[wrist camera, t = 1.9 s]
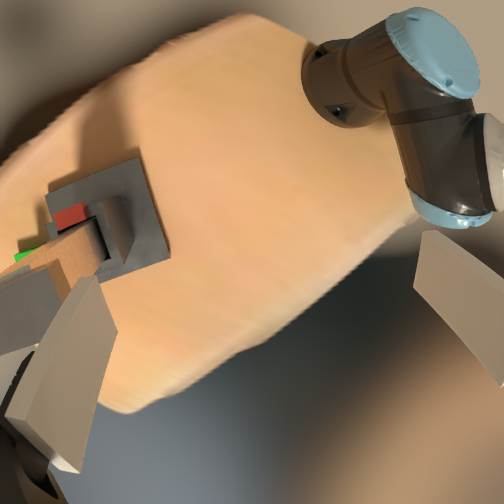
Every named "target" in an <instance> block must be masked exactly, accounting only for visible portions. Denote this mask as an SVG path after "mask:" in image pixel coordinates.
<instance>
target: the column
mask: <svg viewBox="0 0 504 504" xmlns="http://www.w3.org/2000/svg"><path fill="white" fill-rule="evenodd" d="M108 253H109V251H108V248H107V246H106V243H105V240H104V238H103V235H102V232H101V229H100V227H99V224H98V221H97V218H96V215H95V216H93V217H90V218H88V219H86V220H84V221H83V222H81V223H79V224H77V225H75V226H74V227H72V228H70V229H69V230H67V231H65V232H64V233H62V234H60V235H58V236H57V237H55V238H53V239H52V240H50V241H49V242H47V243H45V244H43V245H42V246H41V247H39V248H37V249H36V250H34V251H33V252H31V253H30V254H28V255H26V256H25V257H23V258H22V259H20V260H19V261H17V262H16V263H14V264H13V265H11V266H10V267H9V268H7V269H6V270H4V271H3V272H1V273H0V355H3V354H6V353H9V352H12V351H15V350H19V349H21V348H25V347H27V346H31V345H34V344H37V343H40V342H41V340H42V338H43V336H44V334H45V333H46V331H47V329H48V327H49V326H50V324H51V322H52V321H53V319H54V317H55V315H56V314H57V312H58V310H59V309H60V307H61V306H62V304H63V302H64V301H65V299H66V298H67V296H68V294H69V293H70V291H71V290H72V288H73V287H74V285H75V284H76V282H77V281H78V279H79V277H86V276H93V275H94V273H95V272H96V270H97V269H98V267H99V266H100V264H101V263H102V261H103V260H104V259H105V257H106V256H107V254H108Z"/></svg>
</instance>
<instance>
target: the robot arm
mask: <svg viewBox="0 0 504 504" xmlns="http://www.w3.org/2000/svg"><path fill="white" fill-rule="evenodd" d="M479 75H480V71H479V67H478V64H477V61H476V58H475V56H474V54H473V52H472V50H471V48H470V46H469V44H468V43H467V41H466V40H465V38H464V37H463V36H462V35H461V33H460V32H459V31H458V30H457V29H456V27H455V26H454V25H452V24H451V23H450V22H449V21H448V20H447V19H446V18H444V17H443V16H441V15H440V14H438V13H436V12H434V11H432V10H430V9H426V8H420V7H415V8H410V9H408V10H405V11H403V12H400V13H395V14H393V15H390V16H389V17H387V19H385V20H383V21H381V22H379V23H378V24H376V25H374V26H372V27H370V28H369V29H367V30H365V31H364V32H362V33H360V34H358V35H357V36H355V37H353V38H351V39H340V40H331V41H327V42H324V43H322V44H320V45H319V46H318V47H316V48H315V49H313V50H312V51H311V52H310V53H309V54H308V55H307V57H306V58H305V60H304V63H303V66H302V84H303V88H304V91H305V94H306V96H307V98H308V100H309V102H310V104H311V105H312V107H313V108H314V109H315V110H316V111H317V113H318V114H319V115H320V116H322V117H323V118H324V119H325V120H327V121H328V122H330V123H332V124H334V125H336V126H339V127H342V128H359V127H364V126H367V125H369V124H372V123H373V122H375V121H376V120H377V119H379V118H380V117H381V116H382V115H383V114H384V113H386V112H387V114H388V117H389V120H390V123H391V127H392V130H393V133H394V137H395V140H396V143H397V147H398V150H399V154H400V157H401V161H402V165H403V169H404V173H405V177H406V178H405V182H406V186H407V188H408V190H409V192H410V195H411V199H412V203H413V206H414V208H415V210H416V211H417V212H418V214H419V215H420V216H421V217H422V218H424V219H425V220H427V221H429V222H431V223H433V224H436V225H439V226H442V227H448V228H455V229H463V228H468V227H469V225H470V226H474V227H477V226H480V225H482V224H484V223H486V222H487V221H488V220H489V219H490V218H491V216H492V213H493V211H495V212H497V211H498V212H502V211H503V210H504V124H503V123H501V122H500V121H499V120H498V119H496V118H495V117H494V116H493V115H492V114H491V113H481V114H476V112H475V110H474V106H473V102H472V99H471V98H472V97H473V96H474V95H475V94H476V93H477V92H478V90H479V87H480V79H479V77H478V76H479ZM413 287H414V288H415V290H416V291H417V292H418V293H419V294H420V295H421V296H422V297H423V298H424V299H425V300H426V301H427V302H428V303H429V304H430V305H431V306H432V307H433V308H434V310H436V312H437V313H438V314H439V315H440V316H441V317H442V318H443V319H444V321H445V322H447V324H448V325H449V326H450V327H451V328H452V329H453V331H454V332H455V333H456V334H457V335H458V336H459V337H460V338H461V340H462V341H463V342H464V343H465V344H466V345H467V347H468V348H469V349H470V350H471V351H472V353H473V354H474V355H475V356H476V357H477V358H478V360H479V361H480V362H481V364H482V365H483V366H484V367H485V368H486V370H487V371H488V372H489V373H490V375H491V376H492V377H493V378H494V380H495V381H496V382H497V383H498V385H499V386H500V387H502V386H504V279H503V278H501V277H500V276H499V275H497V274H496V273H495V272H494V271H492V270H491V269H490V268H488V267H487V266H486V265H485V264H483V263H482V262H481V261H479V260H478V259H477V258H475V257H474V256H473V255H471V254H470V253H468V252H467V251H465V250H464V249H463V248H461V247H460V246H458V245H457V244H456V243H454V242H453V241H452V240H450V239H449V238H447V237H446V236H444V235H443V234H441V233H440V232H438V231H437V230H431V231H423V234H422V241H421V248H420V253H419V259H418V265H417V270H416V276H415V281H414V286H413ZM117 333H118V331H117V328H116V326H115V324H114V321H113V319H112V316H111V314H110V311H109V309H108V306H107V303H106V301H105V298H104V296H103V293H102V290H101V287H100V285H99V282H98V279H97V276H96V275H94V276H86V277H79V279H78V281H77V282H76V284H75V285H74V287H73V288H72V290H71V291H70V293H69V294H68V296H67V298H66V299H65V301H64V302H63V304H62V306H61V307H60V309H59V310H58V312H57V314H56V315H55V317H54V319H53V321H52V322H51V324H50V326H49V327H48V329H47V331H46V333H45V334H44V336H43V338H42V340H41V342H40V343H39V345H38V347H37V349H36V351H32V352H31V353H30V354H29V355H28V356H27V357H26V358H25V359H24V360H23V361H22V363H21V365H20V367H19V369H18V371H17V372H16V374H17V375H16V376H15V377H14V378H13V380H12V385H10V387H9V389H8V391H7V393H6V395H5V397H4V399H3V401H2V404H1V406H0V504H68V502H67V500H66V499H65V497H64V495H63V493H62V491H61V490H60V487H59V486H58V484H57V482H56V480H55V478H54V476H53V474H52V473H51V471H50V470H49V469H48V464H49V461H50V462H51V463H53V464H54V465H55V466H56V467H57V468H59V469H60V470H63V471H68V472H74V473H81V468H82V463H83V459H84V453H85V449H86V444H87V440H88V435H89V431H90V427H91V423H92V419H93V414H94V411H95V407H96V403H97V399H98V396H99V392H100V388H101V385H102V381H103V378H104V374H105V371H106V368H107V364H108V361H109V358H110V355H111V351H112V348H113V345H114V342H115V339H116V336H117Z"/></svg>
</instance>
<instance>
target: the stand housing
mask: <svg viewBox="0 0 504 504" xmlns="http://www.w3.org/2000/svg"><path fill="white" fill-rule="evenodd" d="M45 198H46V202H47V205H48V208H49V211H50V214H51V217H52V220H53V222H51V223H49V224H47V225H45V226H46V228H47V231H48V234H49V237H50V240H52V239H53V238H55V237H57V236H58V235H60V234H62V233H64V232H65V231H67V230H69V229H70V228H72V227H74V226H75V225H77V224H79V223H81V222H83V221H84V220H86V219H88V218H90V217H93V216H95V215H96V218H97V221H98V224H99V227H100V229H101V232H102V235H103V238H104V240H105V243H106V246H107V248H108V251H109V253H108V254H107V256H106V257H105V259H104V260H103V261H102V263H101V264H100V266H99V267H98V269H97V270H96V272H95V273H94V275H96V276H97V279H98V282H99V284H100V283H103V282H105V281H108V280H111V279H114V278H116V277H119V276H122V275H124V274H127V273H130V272H133V271H135V270H138V269H141V268H144V267H147V266H149V265H152V264H155V263H158V262H161V261H163V260H166V259H169V258H171V255H170V252H169V249H168V246H167V244H166V241H165V238H164V235H163V232H162V229H161V226H160V223H159V220H158V217H157V214H156V211H155V208H154V205H153V202H152V199H151V196H150V192H149V189H148V186H147V183H146V179H145V176H144V173H143V169H142V166H141V163H140V159H139V157H137V158H134V159H131V160H128V161H125V162H123V163H120V164H117V165H115V166H112V167H110V168H107V169H104V170H102V171H99V172H97V173H94V174H92V175H90V176H87V177H85V178H82V179H80V180H78V181H75V182H73V183H71V184H69V185H66V186H64V187H62V188H60V189H57V190H55V191H53V192H51V193H49V194H47V195H45ZM94 275H93V276H94Z"/></svg>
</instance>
